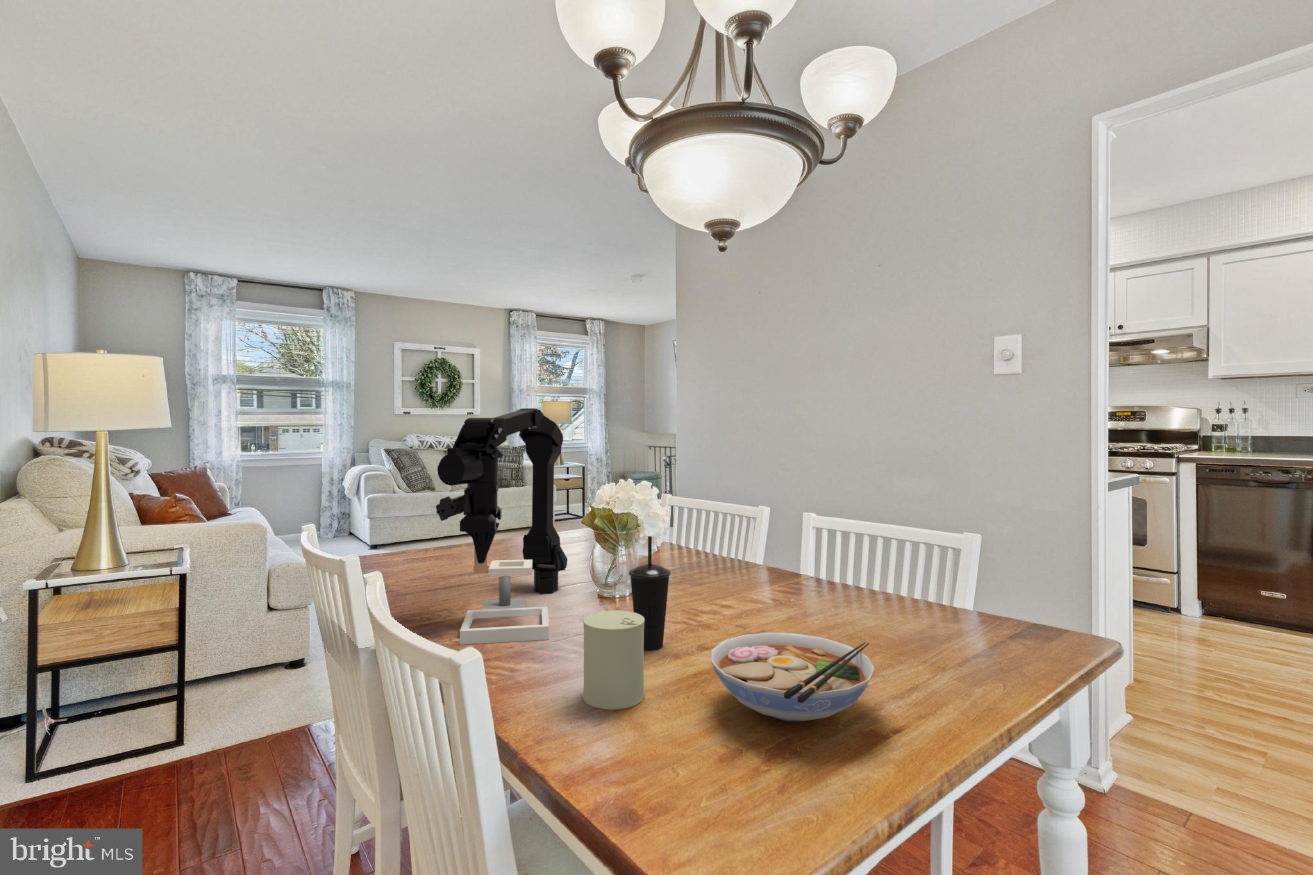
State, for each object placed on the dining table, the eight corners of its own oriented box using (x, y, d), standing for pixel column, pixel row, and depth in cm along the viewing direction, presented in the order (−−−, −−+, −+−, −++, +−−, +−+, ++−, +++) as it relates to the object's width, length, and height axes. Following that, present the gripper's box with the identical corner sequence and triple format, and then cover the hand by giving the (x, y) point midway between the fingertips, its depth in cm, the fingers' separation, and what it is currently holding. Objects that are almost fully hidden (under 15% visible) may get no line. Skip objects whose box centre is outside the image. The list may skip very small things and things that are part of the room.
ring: (476, 567, 127) (476, 540, 127) (532, 566, 129) (532, 539, 129) (472, 576, 119) (472, 548, 119) (531, 575, 121) (531, 546, 121)
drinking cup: (622, 642, 117) (622, 534, 117) (659, 636, 120) (659, 531, 120) (638, 655, 110) (638, 541, 110) (677, 649, 113) (678, 538, 113)
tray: (467, 622, 128) (467, 610, 128) (547, 618, 131) (547, 606, 131) (459, 644, 115) (459, 631, 115) (548, 639, 118) (548, 626, 118)
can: (623, 715, 88) (623, 629, 87) (569, 701, 92) (570, 619, 92) (655, 691, 96) (656, 612, 95) (605, 679, 100) (605, 603, 100)
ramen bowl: (763, 664, 106) (763, 616, 106) (901, 703, 92) (902, 647, 92) (671, 717, 87) (672, 658, 87) (828, 776, 73) (829, 706, 72)
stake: (484, 605, 140) (484, 573, 140) (526, 603, 142) (526, 571, 142) (481, 617, 131) (481, 583, 131) (525, 615, 133) (525, 581, 133)
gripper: (446, 478, 131) (446, 553, 131) (430, 486, 112) (429, 573, 113) (502, 478, 133) (501, 552, 133) (494, 485, 114) (494, 571, 114)
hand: (481, 561), depth 123 cm, fingers closed on ring, 2 cm apart
